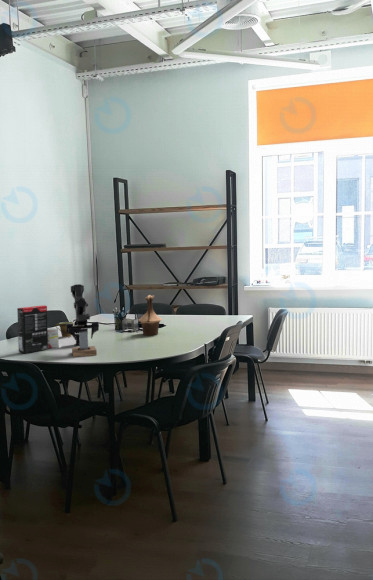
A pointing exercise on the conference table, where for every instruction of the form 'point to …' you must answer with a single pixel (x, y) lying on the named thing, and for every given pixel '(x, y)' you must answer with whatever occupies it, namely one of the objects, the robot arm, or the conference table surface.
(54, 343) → the ink box
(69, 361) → the conference table surface
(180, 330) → the conference table surface
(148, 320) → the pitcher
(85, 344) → the grey rectangular block
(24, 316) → the graphics card box
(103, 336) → the conference table surface
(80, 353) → the post foot
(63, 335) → the ceramic cup
